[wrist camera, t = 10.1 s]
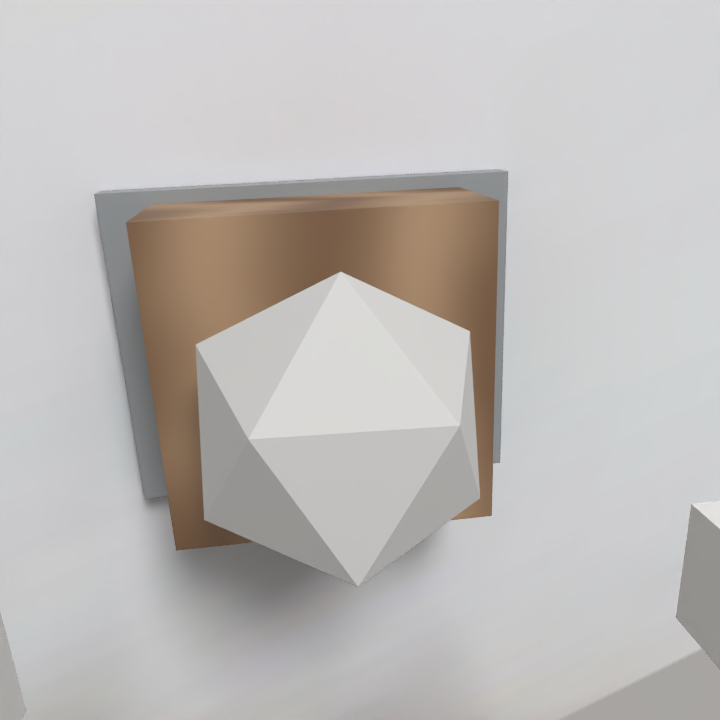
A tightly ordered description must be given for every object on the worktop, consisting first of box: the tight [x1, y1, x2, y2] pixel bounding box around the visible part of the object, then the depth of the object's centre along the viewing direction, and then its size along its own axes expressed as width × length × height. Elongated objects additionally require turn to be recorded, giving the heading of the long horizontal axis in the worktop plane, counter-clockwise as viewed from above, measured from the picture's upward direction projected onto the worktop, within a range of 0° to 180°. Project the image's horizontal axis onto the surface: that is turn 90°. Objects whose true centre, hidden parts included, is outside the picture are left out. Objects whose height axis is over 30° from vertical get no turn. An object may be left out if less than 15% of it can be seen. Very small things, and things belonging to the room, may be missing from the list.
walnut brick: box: [126, 187, 499, 550], centre depth 26 cm, size 12×12×5 cm
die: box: [196, 272, 480, 587], centre depth 20 cm, size 8×9×10 cm
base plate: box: [94, 170, 508, 499], centre depth 29 cm, size 16×13×1 cm
